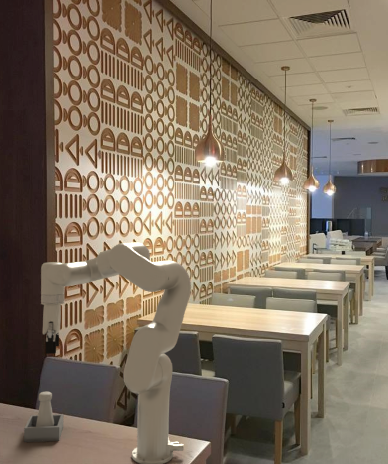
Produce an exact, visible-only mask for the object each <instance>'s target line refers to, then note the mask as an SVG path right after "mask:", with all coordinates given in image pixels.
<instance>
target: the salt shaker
mask: <svg viewBox="0 0 388 464" xmlns="http://www.w3.org/2000/svg"><path fill="white" fill-rule="evenodd" d="M52 399H53V393H52V392H50V391H42V392H40V393H39V394H38V401H40V402H39V407H38V412H37V415H38V417H37V423H36V427H47V426H54V419H53V415H54V413H53V408H52V403H51V402H52V401H51V400H52Z"/></svg>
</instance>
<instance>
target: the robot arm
mask: <svg viewBox="0 0 388 464" xmlns="http://www.w3.org/2000/svg"><path fill="white" fill-rule="evenodd" d="M150 258H151V254H150V249H148V247H147V246H146V245H144V244H143V243H141V242H123V243H118V244H116V245H114V246H113V247H112V248H111V249H107V250H103V251H100V252H99V253H98V255H97V257H94V258H92V259H88V260H83V261H75V262H66V263H65V262H64V263H62V262H59V261H58V262H57V261H55V262H54V261H52V262H51V261H50V262H43V264H41V269H40V273H41V274H40V279H41V280H40V281H41V285H40V289H41V291H40V294H41V296H40V299H41V300H40V302H41V303H40V305H43V312H42V313H43V314H42V315H43V317H42V335H46V338H45V354H46V355H49V354H51V355H52V354H54V355H55V354H56V353H57V347H59V346H60V334H59V333H60V330H61V319H62V318H61V317H62V315H61V313H62V312H61V311H62V309H61V308H62V305H63V304H65V287H70V286H75V285H76V286H77V285H83V284H88V283H91V282H95V281H99V280H103V279H108V278H112V277H115V276H116V277H117V276H119V275H120V276H121V277H123V278H125V279H126V280H128V281H129V282H131V283H132V284H133V285H135V286H137V288H140V289H141V290H143V291H146V292H148V293H149V292H150V293H154V292H158V291H163V294H162V295H161V297H160V300H159V302H158V303H157V306H156V311H155V313H154V316H153V319H152V321H151V322H150V323H148V324H145V325H142V326H141V327H139V328H138V330H137V331H136V332H135V334H134V336H133V337H132V340H131V344H130V347H129V351H128V354H127V358H126V362H125V365H124V369H123V381H124V384H125V386H126V388H127V389H128V390H129V391H130V392H131V393H133V394H138V395H137V422H136V423H137V424H136V425H137V426H136V427H137V428H136V429H137V430H136V432H137V434H136V435H137V436H136V438H137V439H136V447H134V448H133V450H132V451H131V458H132V460H133V461H135V463H138V464H166V463H168V462H170V461H171V460H173V458H174V452H183V451H184V450H185V449H184V444H183V443H180V442H179V441H171V440H170V438H169V426H170V425H169V424H170V421H169V419H170V416H169V415H170V393H171V392H170V391H171V384H172V379H173V377H172V376H173V363H172V360H171V359H170V357H169V355H167V354H166V353H168V352H169V351H172V349H174V348H175V346H176V344H177V343H178V339H179V335H180V332H181V329H182V324H183V322H184V318H185V312H186V311H187V307H188V303H189V300H190V297H191V292H192V291H191V290H192V282H191V278H190V275H189V273H188V272H187V269H186V268H185V267H184V266H183V265H181V264H180V263H179V262H177V261H173V260H159V261H153V262H152V261H151V259H150ZM179 443H180V444H179Z"/></svg>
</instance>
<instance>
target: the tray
mask: <svg viewBox="0 0 388 464" xmlns="http://www.w3.org/2000/svg"><path fill="white" fill-rule="evenodd" d="M64 414H65V413H64ZM64 414H63V413H59V414H56V413H55V414H53V419H54V426H47V427H36V423H37V417H38V414H31V415H30V416H29V417H28V420H27V422H26V424H25V426H24V428H23V431H24V432H23V443H31V442H32V443H33V442H34V443H35V442H60V440H61V437H62V432H63V429H64V419H65V418H64Z"/></svg>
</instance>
